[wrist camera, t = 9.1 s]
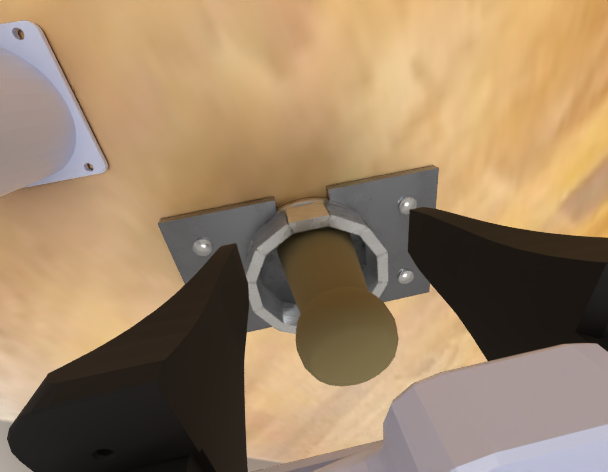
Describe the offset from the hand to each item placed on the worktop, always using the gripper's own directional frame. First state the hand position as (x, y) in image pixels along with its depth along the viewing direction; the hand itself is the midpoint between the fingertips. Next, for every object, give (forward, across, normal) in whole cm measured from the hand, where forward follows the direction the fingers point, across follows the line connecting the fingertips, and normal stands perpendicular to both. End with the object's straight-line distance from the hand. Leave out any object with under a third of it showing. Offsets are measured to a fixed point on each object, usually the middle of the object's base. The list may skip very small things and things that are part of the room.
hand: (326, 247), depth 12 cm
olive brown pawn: (+10, 0, +6) cm, 11 cm away
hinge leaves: (+10, 0, +7) cm, 13 cm away
